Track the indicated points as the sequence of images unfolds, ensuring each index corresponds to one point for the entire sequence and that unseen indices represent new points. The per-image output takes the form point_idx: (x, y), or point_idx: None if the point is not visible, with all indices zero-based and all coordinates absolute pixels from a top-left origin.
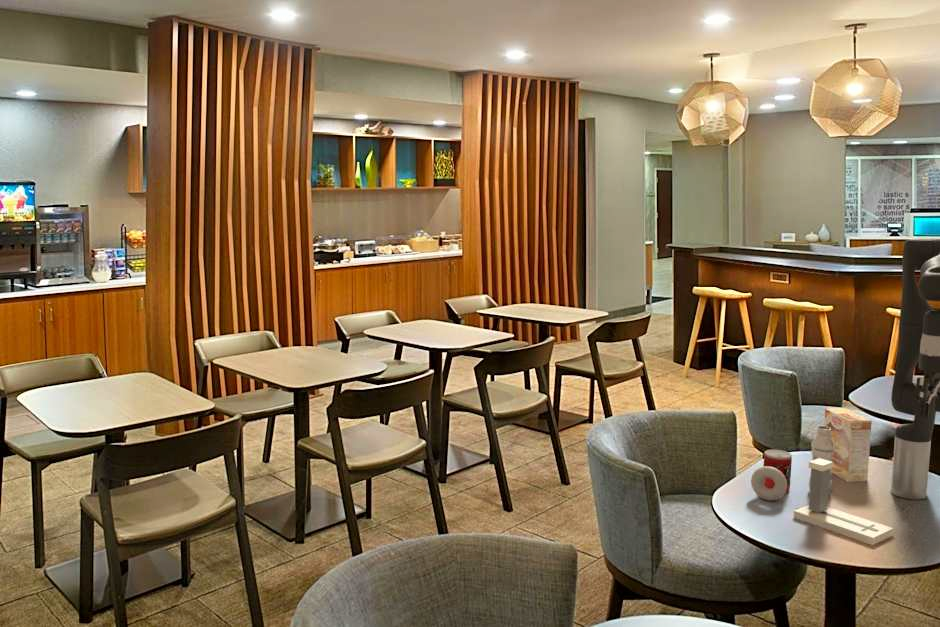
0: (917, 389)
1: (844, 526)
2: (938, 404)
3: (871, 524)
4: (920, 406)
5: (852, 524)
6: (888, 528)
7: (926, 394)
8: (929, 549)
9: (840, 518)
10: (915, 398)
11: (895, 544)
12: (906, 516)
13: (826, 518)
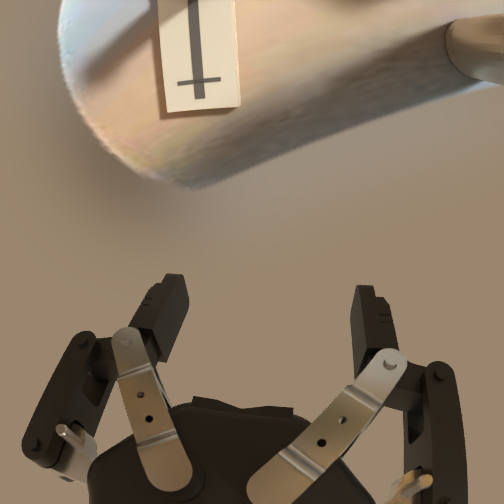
0: (52, 391)
1: (167, 56)
2: (358, 326)
3: (219, 74)
4: (134, 319)
5: (187, 57)
6: (228, 102)
7: (93, 402)
8: (238, 168)
9: (193, 29)
10: (72, 342)
11: (209, 127)
12: (358, 78)
13: (172, 18)
